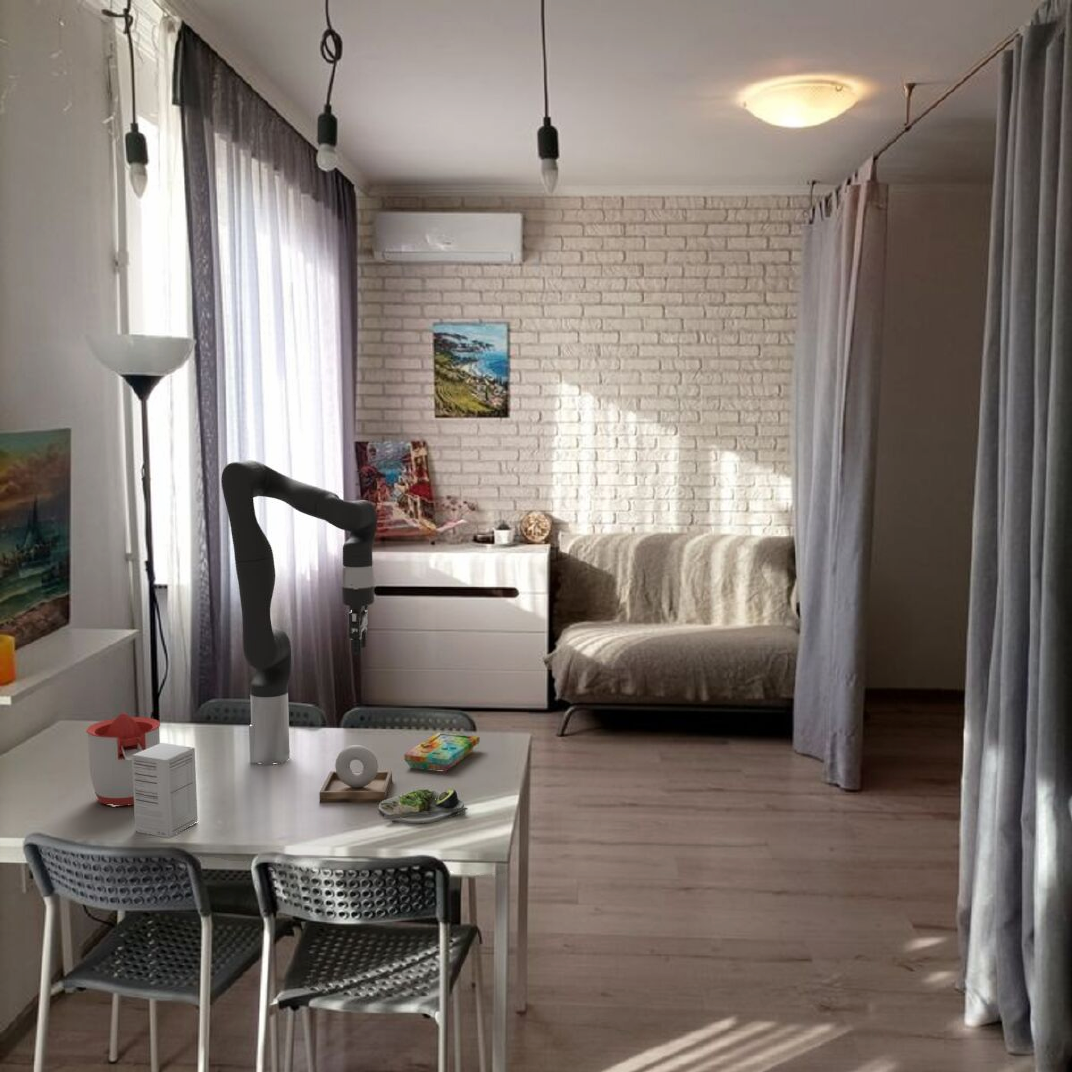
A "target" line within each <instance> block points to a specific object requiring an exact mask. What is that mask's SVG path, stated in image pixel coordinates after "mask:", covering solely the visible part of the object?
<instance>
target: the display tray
mask: <svg viewBox="0 0 1072 1072" xmlns="http://www.w3.org/2000/svg"><path fill="white" fill-rule="evenodd" d="M352 771H353V772H355V773H360V772H362V771H363V770H362V771H361V770H359V771H358V770H357V771H356V770H355V771H354V770H352ZM392 784H393V771H392V770H390V771H389V770H386V771H384V770H381V771H380V770H378V771H377V775H376V777H375V778H374V780H373V781H372V782H371V783H370V784H368V785H366V786H364V787H359V788H355V787H350V786H348V785H346V784H344V783H343V782H342V781H341V780H340V779H339V777H338V775H337V773H336V770H333V771H332V770H331V771H329V773H328V775H327V776H326V779H325V780H324V783H323V784H322V787H321V789H320V790H319V804H338V803H339V804H363V803H364V804H380V803H381V802H382V801H384V800H387V799H388V798H387V797H388V794H389V793H390V789H391V786H392Z"/></svg>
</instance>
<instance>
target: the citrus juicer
mask: <svg viewBox="0 0 1072 1072" xmlns="http://www.w3.org/2000/svg"><path fill="white" fill-rule="evenodd" d="M160 726H161V723H160V721H159V720H158V719H154V718H152V717H144V716H130V715H128V714H127V713H126V712H121V713H120V714H119V715H118V716H117V717H116V718H112V719H106V720H102V721H98V722H96V723H93V724H90V725H89V726H88V727H87V729H86V733H87V737H88V738H87V740H88V742H87V743H88V759H89V760H88V762H89V764H88V765H89V766H88V767H89V774H90V779H91V784H92V786H93V789H94V793H95V795H96V797H97V799H98V801H99V803H101V802H102V803H104V804H113V805H128V804H134V793H133V772H132V755H134V754H136V753H138V752H141V751H143V750H145V749H148V748H150V747H153V746H155V745H157V744H160V743H161V741H160V738H161V737H160ZM102 803H101V804H102ZM104 804H103V805H104ZM128 806H129V805H128Z"/></svg>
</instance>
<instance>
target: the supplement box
mask: <svg viewBox="0 0 1072 1072" xmlns="http://www.w3.org/2000/svg"><path fill="white" fill-rule="evenodd" d="M196 769H197V768H196V750H195V747H194V746H193V747H191V746H186V745H178V744H172V743H165V742H160V744H157V745H155V746H153V747H150V748H148V749H145V750H143V751H141V752H138V753H136V754H134V755H132V772H133V793H134V805H133V809H134V811H133V812H134V813H133V814H134V829H135V830H134V831H135V832H136V831H137V832H136V833H140V832H141V833H140V834H145V833H146V835H150V834H152V835H151V836H157V837H161V836H162V837H161V838H166V837H167V838H166V839H171V838H172V837H173V836H176V835H177V834H176V833H178V834H179V833H181V832H182V831H181V830H183V831H185V830H187V829H188V828H187V827H189V826H190V825H192V824H194V823H195V822H197V821H199V820H198V818H199V817H198V800H197V796H198V795H197V793H198V792H197V777H196V776H197V775H196V774H197V772H196V771H197V770H196ZM186 828H187V829H186ZM189 828H190V827H189ZM184 829H185V830H184ZM180 831H181V832H180ZM175 834H176V835H175Z"/></svg>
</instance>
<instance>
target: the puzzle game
mask: <svg viewBox="0 0 1072 1072" xmlns="http://www.w3.org/2000/svg"><path fill="white" fill-rule="evenodd" d="M479 743H480V737H479V736H473V735H465V734H454V733H445V732H437V733H435V734H434V735H432V736H431V737H430V738H427V739H425V740H424V741H423V742H421V743H419V744H417V745H416V746H414V747H413V748H411V749H409V750H408V751H406V752H405V753H404V756H403V757H404V758H403V759H404V761H405V762H406V763H407V765H408V766H409V767H410V768H411V769H412V768H413V769H418V768H421V769H420V770H426V769H432V770H431V771H434V770H443V771H446V770H447V771H449V770H450V769H451V768H452V766H453V765H454V764H455V765H457V764H458V763H459V762H461V761H462V760H463V759H465V758H466V757H467V756H469V755H470V754H471V753H472V751H473V749H474V747H475V746H477V745H478V744H479ZM469 753H470V754H469ZM468 754H469V755H468ZM466 755H467V756H466ZM465 756H466V757H465ZM464 757H465V758H464ZM462 758H463V759H462ZM461 759H462V760H461ZM460 760H461V761H460ZM457 762H458V763H457ZM456 763H457V764H456ZM455 765H454V766H455ZM454 766H453V767H454ZM450 767H451V768H450ZM422 768H423V769H422ZM449 768H450V769H449ZM433 769H434V770H433ZM448 769H449V770H448ZM443 771H442V772H443ZM447 771H446V772H447Z"/></svg>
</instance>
